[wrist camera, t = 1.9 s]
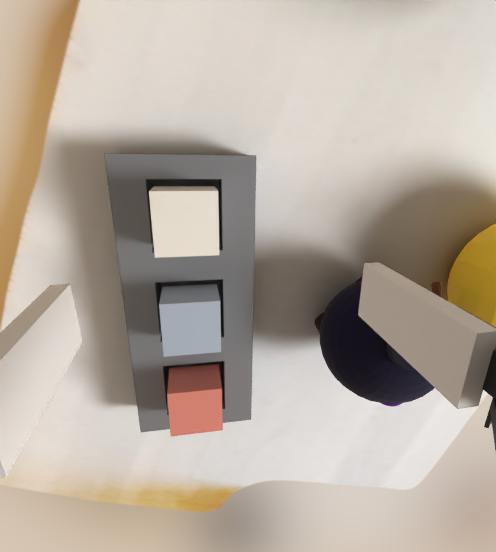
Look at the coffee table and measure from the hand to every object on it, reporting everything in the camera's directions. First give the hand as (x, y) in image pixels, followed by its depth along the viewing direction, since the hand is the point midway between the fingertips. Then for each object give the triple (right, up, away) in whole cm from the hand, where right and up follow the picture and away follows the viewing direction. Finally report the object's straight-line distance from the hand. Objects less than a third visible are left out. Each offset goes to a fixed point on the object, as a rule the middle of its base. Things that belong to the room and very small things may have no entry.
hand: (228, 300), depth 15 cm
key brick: (-5, -11, +20) cm, 23 cm away
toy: (+13, -2, +24) cm, 27 cm away
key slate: (-5, -2, +17) cm, 18 cm away
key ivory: (-4, +6, +14) cm, 16 cm away
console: (-5, -1, +20) cm, 21 cm away
